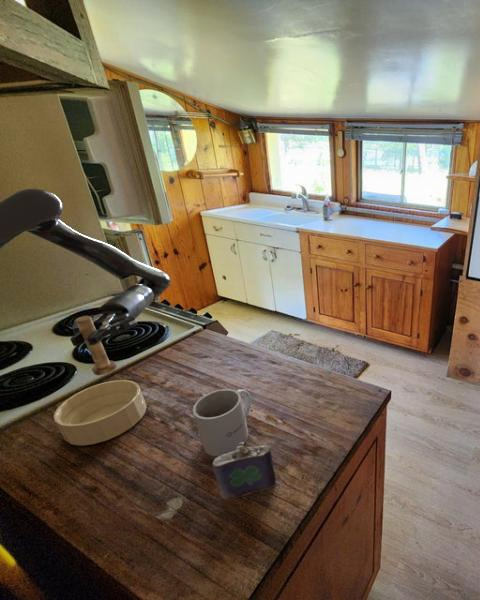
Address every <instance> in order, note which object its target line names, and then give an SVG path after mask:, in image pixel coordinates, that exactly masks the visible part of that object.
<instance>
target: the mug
mask: <svg viewBox="0 0 480 600" xmlns="http://www.w3.org/2000/svg"><path fill="white" fill-rule="evenodd" d="M242 395H243V397H244V406H243V400H242ZM194 403H195V404H194V405H193V407H192V414H193V417H194V421H195V423H196V427H197V431H198V433H199V437H200V440H201V444H202V447H203V450H204V452H205V453H206V454H208V455H209V456H212V457H219V456H221V455H224V454H227V453H230V452H232V451H236V449H237V447H238V446H241V445H244V444H246V442H247V439H248V438H249V428H248V424H247V419H246V418H247V416H248V414H249V413H250V411H251V406H252V399H251V395H250V393H249V391H247V390H246V389H240V388H239V389H238V390H236V389H232V388H222V389H217V390H214V391H211V392H208V393H206V394H205V395H203V396H202V397H200V398H199V399H198V400H196V402H194ZM241 442H244V444H241V445H240V444H239V443H241ZM237 444H238V445H237Z"/></svg>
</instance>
